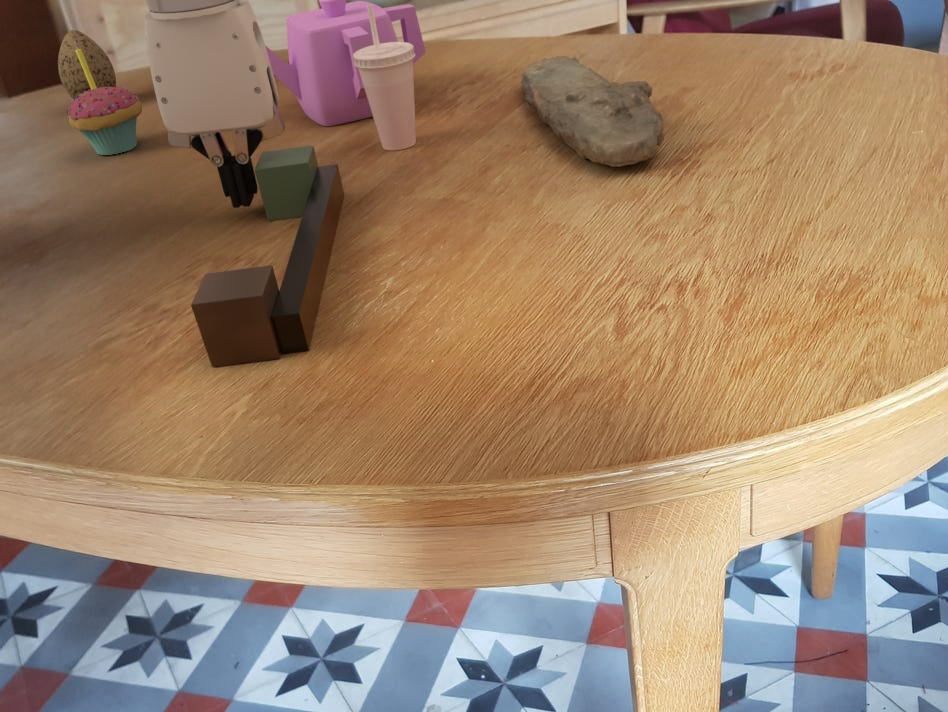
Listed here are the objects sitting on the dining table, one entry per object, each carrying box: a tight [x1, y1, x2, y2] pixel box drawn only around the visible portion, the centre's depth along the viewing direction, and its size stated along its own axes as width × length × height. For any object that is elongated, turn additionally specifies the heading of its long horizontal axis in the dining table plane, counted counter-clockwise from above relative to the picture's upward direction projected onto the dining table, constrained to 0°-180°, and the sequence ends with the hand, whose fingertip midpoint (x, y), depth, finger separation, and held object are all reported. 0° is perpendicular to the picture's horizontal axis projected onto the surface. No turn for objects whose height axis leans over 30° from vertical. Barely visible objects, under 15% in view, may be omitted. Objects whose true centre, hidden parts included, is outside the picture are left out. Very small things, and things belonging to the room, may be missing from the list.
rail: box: [271, 163, 345, 355], centre depth 79 cm, size 2×31×3 cm, turn 2°
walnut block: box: [190, 264, 282, 368], centre depth 68 cm, size 5×5×5 cm
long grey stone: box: [520, 55, 665, 168], centre depth 100 cm, size 35×5×10 cm
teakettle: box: [265, 0, 427, 127], centre depth 114 cm, size 17×17×12 cm
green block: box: [253, 145, 319, 222], centre depth 90 cm, size 5×5×5 cm
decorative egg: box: [57, 29, 117, 100], centre depth 130 cm, size 7×7×10 cm
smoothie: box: [353, 3, 417, 151], centre depth 99 cm, size 6×6×14 cm
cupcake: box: [66, 42, 143, 156], centre depth 111 cm, size 9×8×12 cm
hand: (244, 201), depth 91 cm, fingers closed
